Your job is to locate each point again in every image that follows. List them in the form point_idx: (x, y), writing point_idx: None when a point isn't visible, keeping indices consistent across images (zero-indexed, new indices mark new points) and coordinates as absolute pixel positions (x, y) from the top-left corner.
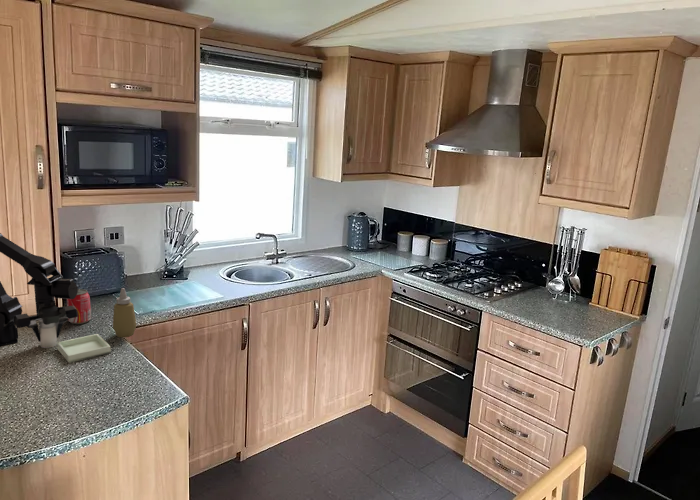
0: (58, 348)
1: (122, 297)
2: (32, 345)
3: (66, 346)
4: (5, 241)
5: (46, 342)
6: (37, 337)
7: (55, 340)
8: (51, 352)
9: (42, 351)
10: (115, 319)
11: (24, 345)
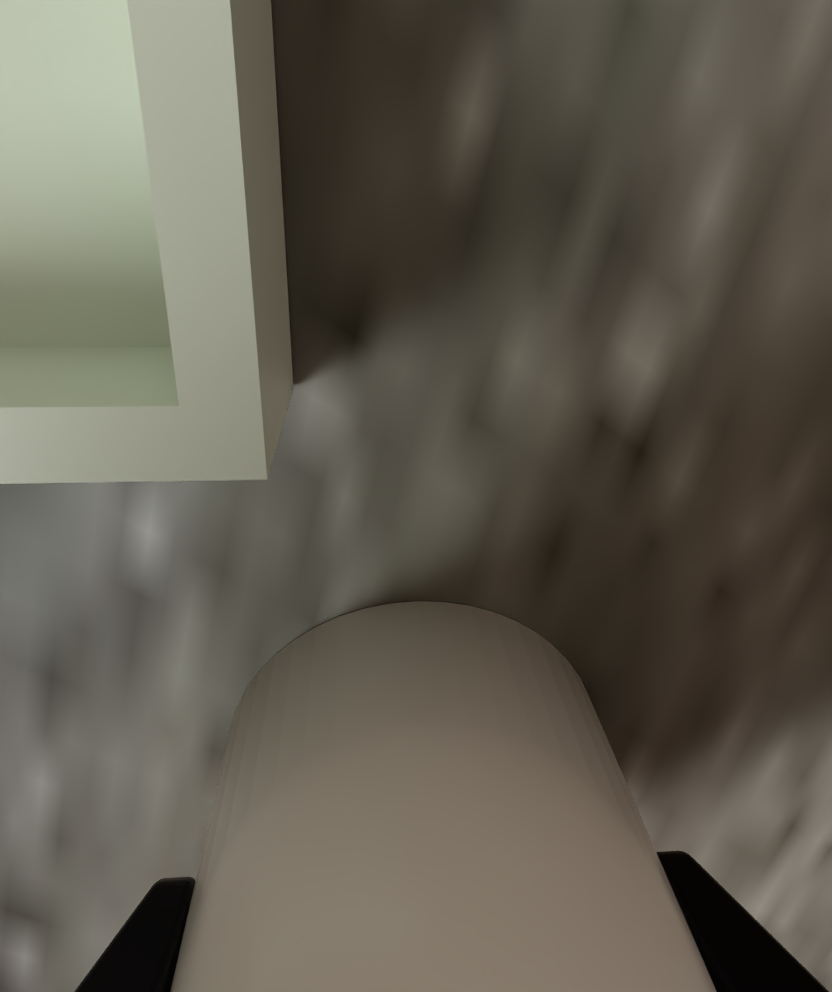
0: (280, 279)
1: None
2: None
3: (3, 328)
4: None
5: (541, 727)
6: (820, 986)
7: (265, 758)
8: (510, 237)
9: (673, 459)
10: None
11: (794, 917)
